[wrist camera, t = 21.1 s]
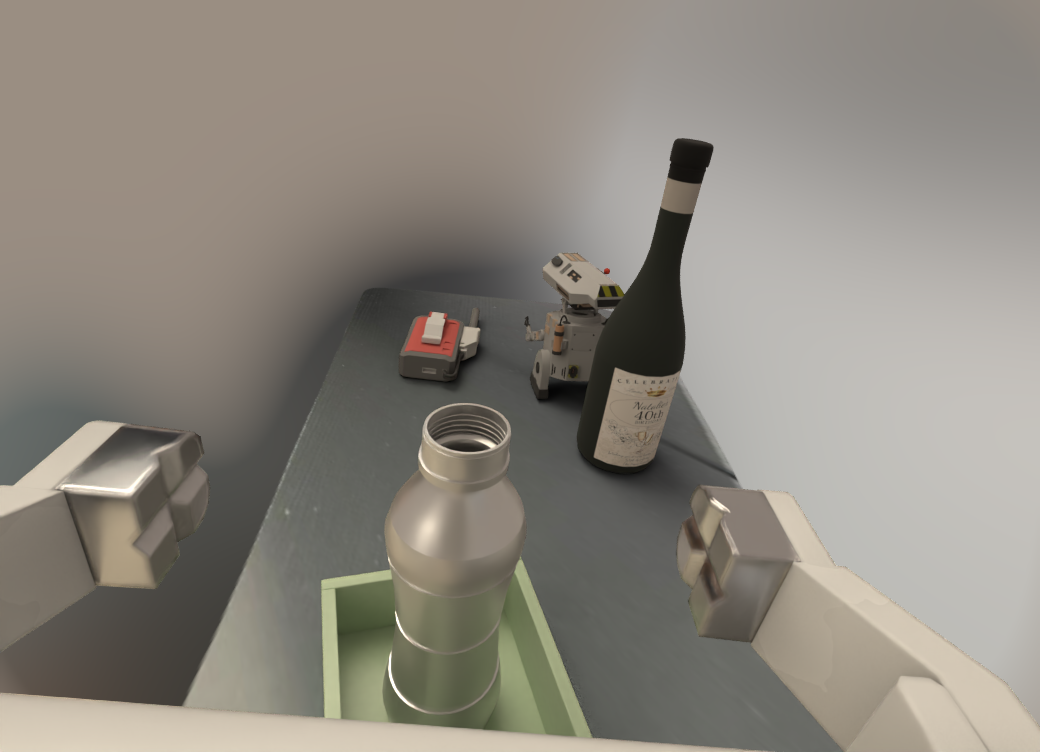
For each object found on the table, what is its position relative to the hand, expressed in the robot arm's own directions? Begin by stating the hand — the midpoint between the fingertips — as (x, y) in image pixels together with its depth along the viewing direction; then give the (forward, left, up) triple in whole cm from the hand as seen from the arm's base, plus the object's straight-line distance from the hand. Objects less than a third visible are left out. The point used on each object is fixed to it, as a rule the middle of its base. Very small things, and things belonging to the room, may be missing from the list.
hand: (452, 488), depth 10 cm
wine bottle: (+34, -26, -28) cm, 51 cm away
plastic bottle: (+12, -4, -27) cm, 30 cm away
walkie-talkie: (+58, -13, -28) cm, 65 cm away
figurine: (+48, -26, -28) cm, 61 cm away
